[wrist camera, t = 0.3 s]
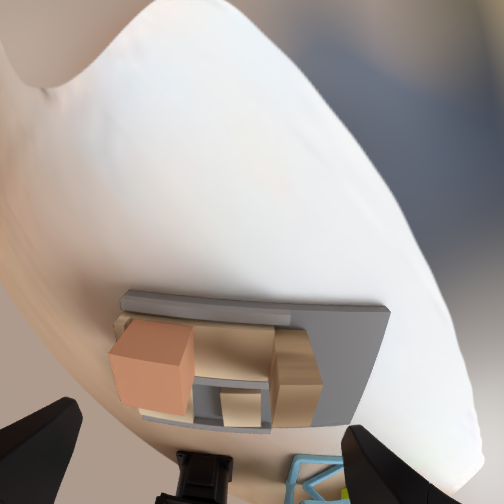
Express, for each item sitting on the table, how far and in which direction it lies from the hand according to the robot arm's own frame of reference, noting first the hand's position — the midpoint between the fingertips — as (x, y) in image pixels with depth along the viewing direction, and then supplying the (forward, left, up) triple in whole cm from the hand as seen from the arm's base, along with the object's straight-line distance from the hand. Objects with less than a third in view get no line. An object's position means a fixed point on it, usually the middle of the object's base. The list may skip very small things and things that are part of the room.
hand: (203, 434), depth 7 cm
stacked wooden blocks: (-5, +1, -12) cm, 13 cm away
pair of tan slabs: (-11, +2, -12) cm, 16 cm away
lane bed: (-8, -2, -13) cm, 16 cm away
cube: (-5, +4, -11) cm, 13 cm away
